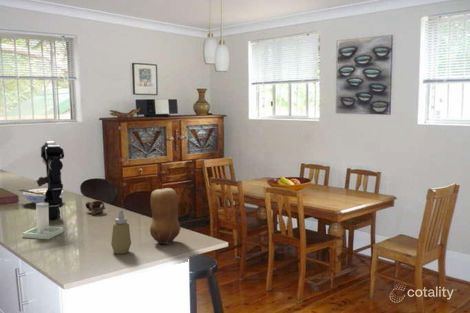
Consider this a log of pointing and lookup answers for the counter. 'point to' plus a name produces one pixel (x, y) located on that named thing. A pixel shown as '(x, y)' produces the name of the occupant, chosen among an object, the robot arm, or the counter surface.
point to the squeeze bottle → (121, 235)
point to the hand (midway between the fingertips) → (56, 201)
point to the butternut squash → (164, 215)
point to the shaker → (42, 217)
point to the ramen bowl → (35, 195)
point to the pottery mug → (95, 206)
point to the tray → (33, 234)
